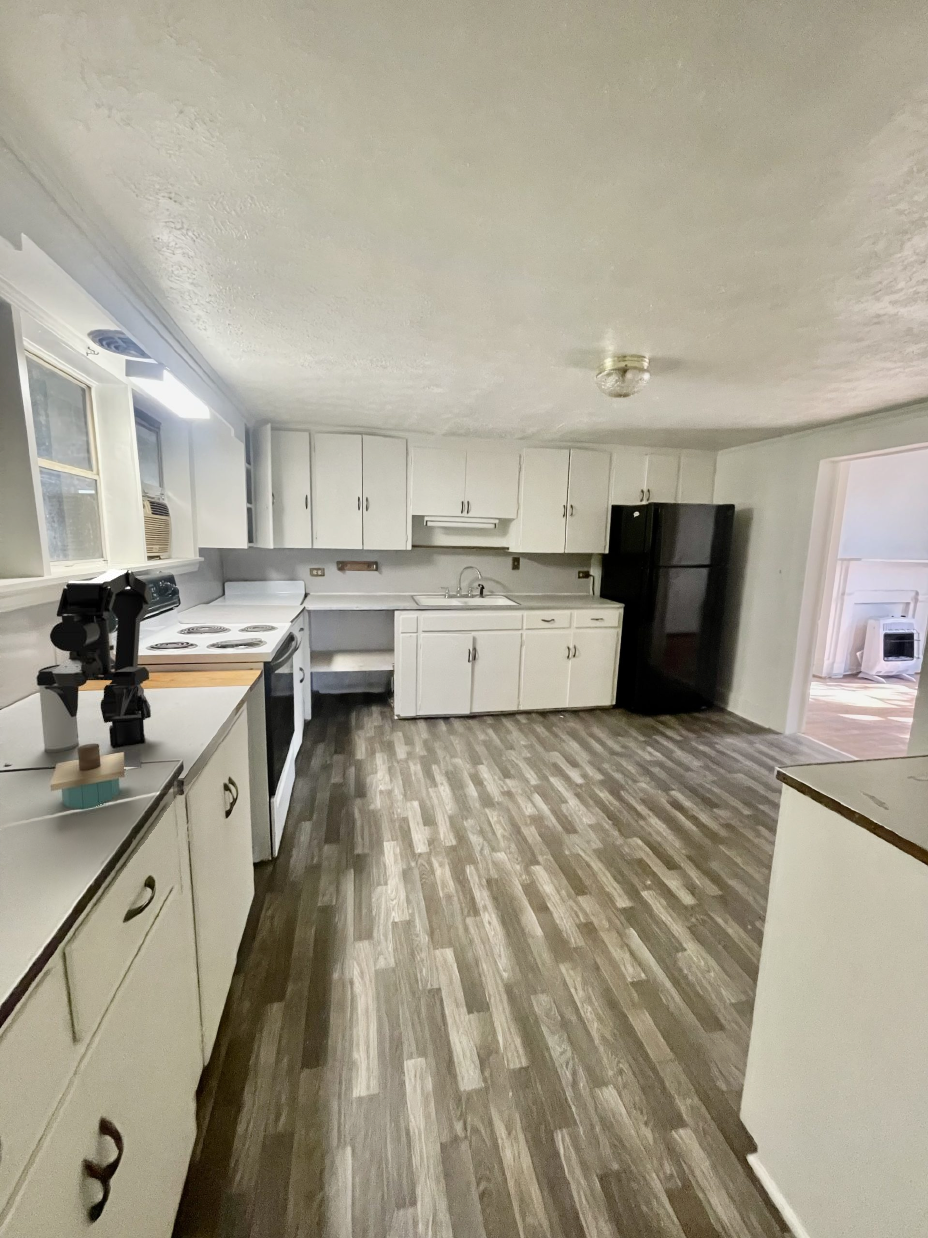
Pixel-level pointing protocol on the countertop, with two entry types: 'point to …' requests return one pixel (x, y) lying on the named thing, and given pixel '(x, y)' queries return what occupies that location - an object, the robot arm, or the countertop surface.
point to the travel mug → (57, 722)
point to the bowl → (90, 794)
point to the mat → (131, 758)
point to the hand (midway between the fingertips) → (97, 716)
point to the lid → (88, 768)
